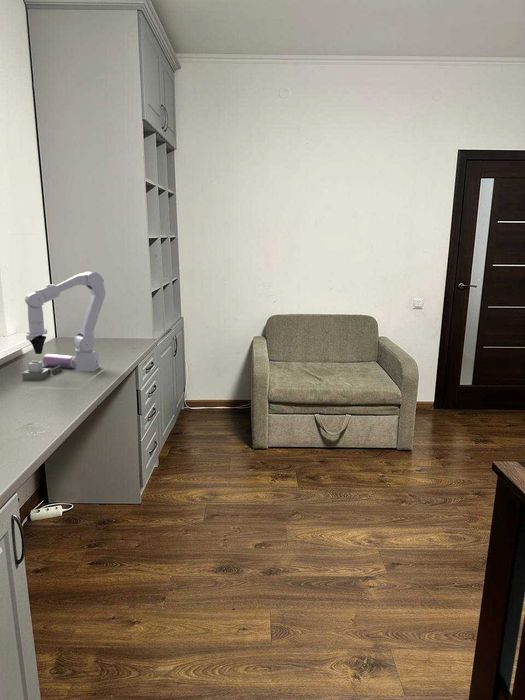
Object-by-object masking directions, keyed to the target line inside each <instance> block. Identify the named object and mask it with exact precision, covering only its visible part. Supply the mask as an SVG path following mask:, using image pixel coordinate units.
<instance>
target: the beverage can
mask: <svg viewBox="0 0 525 700" xmlns="http://www.w3.org/2000/svg"><path fill="white" fill-rule="evenodd" d="M41 361H42V366H45V365H48V368H55V367H57V366H59V365H61V369H73V370H74V369H76V357H75V355H69V354H68V355H66V354H57V353H56V354H55V353H46V354H44V355H43V356H42V360H41Z"/></svg>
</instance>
